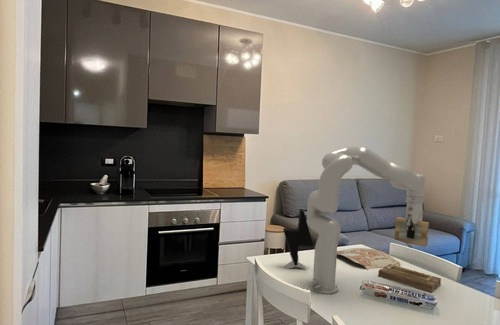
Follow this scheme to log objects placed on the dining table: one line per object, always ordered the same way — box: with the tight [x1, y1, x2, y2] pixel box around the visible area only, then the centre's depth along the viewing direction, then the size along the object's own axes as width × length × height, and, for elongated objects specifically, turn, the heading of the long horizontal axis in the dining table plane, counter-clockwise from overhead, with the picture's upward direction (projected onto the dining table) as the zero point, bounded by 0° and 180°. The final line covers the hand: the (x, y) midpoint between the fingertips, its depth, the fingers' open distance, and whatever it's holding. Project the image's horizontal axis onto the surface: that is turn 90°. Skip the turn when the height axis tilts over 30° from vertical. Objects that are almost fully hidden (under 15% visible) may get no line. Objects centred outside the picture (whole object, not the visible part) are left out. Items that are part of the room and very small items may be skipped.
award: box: [283, 208, 314, 270], centre depth 170 cm, size 15×5×30 cm, turn 92°
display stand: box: [377, 264, 442, 294], centre depth 161 cm, size 14×24×4 cm, turn 45°
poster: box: [337, 247, 401, 270], centre depth 189 cm, size 28×6×30 cm
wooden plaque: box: [394, 216, 430, 247], centre depth 160 cm, size 4×14×11 cm, turn 45°
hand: (412, 237), depth 160 cm, fingers closed on wooden plaque, 3 cm apart
